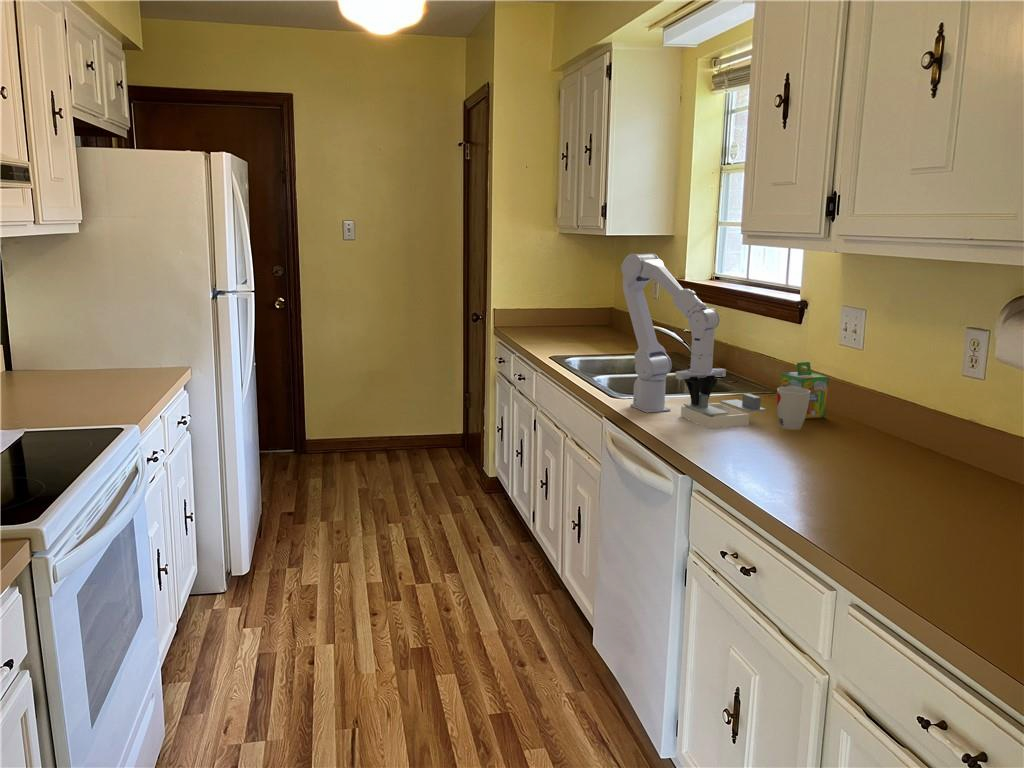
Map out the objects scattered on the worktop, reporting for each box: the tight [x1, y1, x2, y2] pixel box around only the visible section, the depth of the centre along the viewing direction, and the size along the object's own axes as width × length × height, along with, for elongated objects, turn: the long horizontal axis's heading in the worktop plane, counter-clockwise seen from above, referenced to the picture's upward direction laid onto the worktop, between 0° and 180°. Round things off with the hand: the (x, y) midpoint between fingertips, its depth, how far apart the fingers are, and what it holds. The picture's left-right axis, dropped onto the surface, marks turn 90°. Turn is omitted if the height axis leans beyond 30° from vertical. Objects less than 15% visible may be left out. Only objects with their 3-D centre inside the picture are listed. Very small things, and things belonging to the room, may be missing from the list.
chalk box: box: [780, 361, 830, 420], centre depth 222 cm, size 9×9×15 cm
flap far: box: [720, 393, 767, 413], centre depth 218 cm, size 12×6×4 cm, turn 21°
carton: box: [680, 402, 751, 429], centre depth 216 cm, size 14×12×3 cm
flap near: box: [683, 391, 728, 415], centre depth 214 cm, size 12×6×4 cm, turn 21°
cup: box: [776, 386, 810, 431], centre depth 209 cm, size 8×8×10 cm
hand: (699, 404), depth 217 cm, fingers open, 2 cm apart
